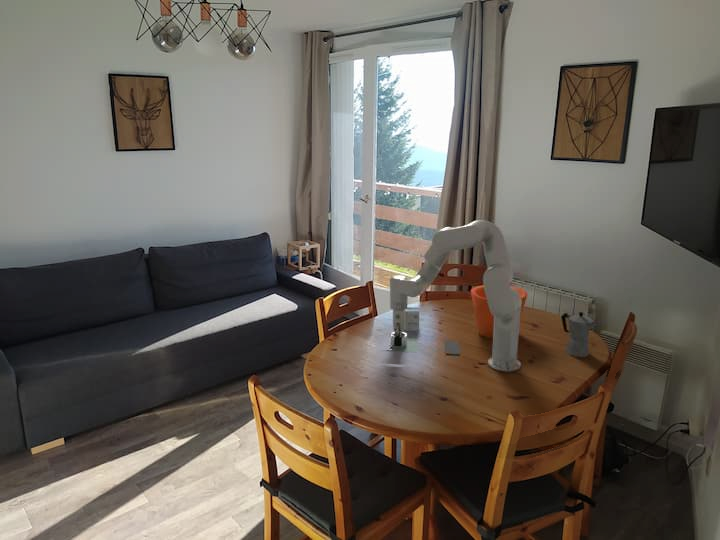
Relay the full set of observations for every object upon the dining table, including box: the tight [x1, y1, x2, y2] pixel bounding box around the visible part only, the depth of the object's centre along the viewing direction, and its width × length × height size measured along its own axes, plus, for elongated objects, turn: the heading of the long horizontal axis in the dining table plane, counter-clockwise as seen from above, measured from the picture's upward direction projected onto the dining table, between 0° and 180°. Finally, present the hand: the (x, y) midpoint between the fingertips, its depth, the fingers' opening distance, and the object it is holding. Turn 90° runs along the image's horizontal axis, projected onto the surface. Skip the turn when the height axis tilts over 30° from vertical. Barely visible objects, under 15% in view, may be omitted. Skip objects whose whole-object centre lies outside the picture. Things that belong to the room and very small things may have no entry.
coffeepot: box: [561, 311, 596, 358], centre depth 214 cm, size 15×9×18 cm, turn 33°
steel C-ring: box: [390, 331, 408, 347], centre depth 225 cm, size 7×7×4 cm
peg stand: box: [388, 332, 418, 353], centre depth 225 cm, size 16×16×7 cm
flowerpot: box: [470, 284, 528, 340], centre depth 236 cm, size 25×25×20 cm
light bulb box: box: [404, 306, 420, 332], centre depth 243 cm, size 11×7×11 cm, turn 84°
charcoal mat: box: [444, 340, 461, 356], centre depth 223 cm, size 14×14×1 cm
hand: (398, 341), depth 225 cm, fingers open, 9 cm apart
